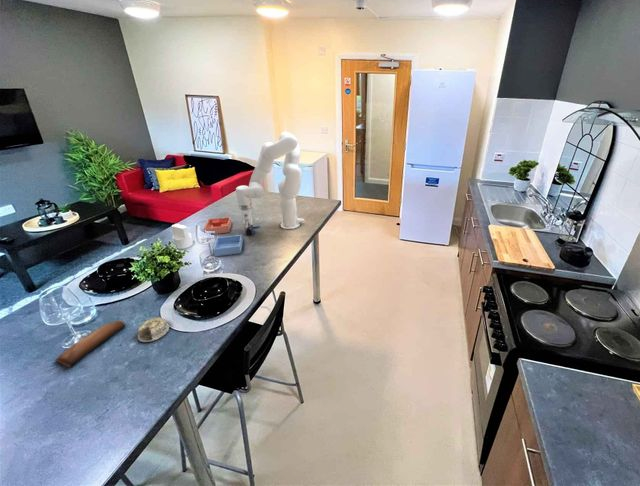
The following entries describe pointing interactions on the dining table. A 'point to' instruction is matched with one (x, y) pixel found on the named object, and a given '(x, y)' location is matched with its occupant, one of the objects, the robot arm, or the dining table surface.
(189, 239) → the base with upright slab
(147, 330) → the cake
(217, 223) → the red scoop
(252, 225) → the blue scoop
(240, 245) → the blue bin
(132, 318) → the dining table surface
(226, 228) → the red bin
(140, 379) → the dining table surface
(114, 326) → the sunglasses case
